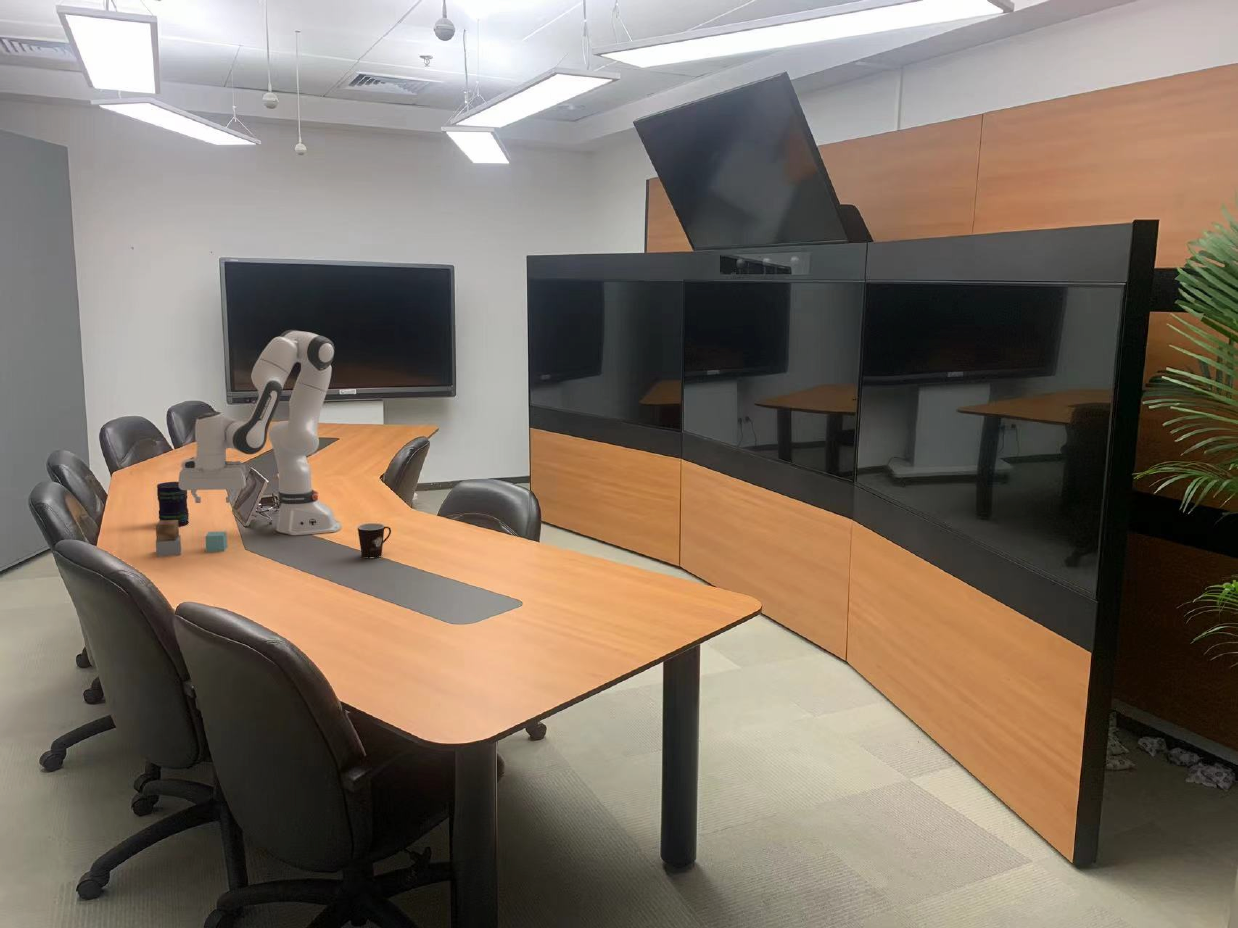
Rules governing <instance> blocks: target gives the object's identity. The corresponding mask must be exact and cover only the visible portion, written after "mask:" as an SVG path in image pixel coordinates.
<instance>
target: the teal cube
mask: <svg viewBox="0 0 1238 928" xmlns="http://www.w3.org/2000/svg"><path fill="white" fill-rule="evenodd" d="M227 535H228V533H227V531H223V530H221V531H208V532H207V533H206V535H205V548H206V549H205V550H206V551H205V552H206V553H215V552H216V553H217V552H219V553H220V551H221V552H225V551H226V549H227V548H228V537H227Z"/></svg>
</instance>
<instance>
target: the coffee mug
mask: <svg viewBox="0 0 1238 928" xmlns="http://www.w3.org/2000/svg"><path fill="white" fill-rule="evenodd" d="M386 529H387V530H388V535H387V536H386V538H384V536H385V535H384V534H385V530H386ZM357 533H358V539H359V547H360V552H361V553H360V554H361V557H362V558H363V557H368V558H370V557H378V558H380V557H379V556H381V555H382V556H383V546H384V543H385V542H386V541H388V539H389V538H390V536H391V534H392V529H391V527H389V526H385V525H384V524H382V523H377V522H376V523H375V522H374V523H372V522H371V523H362V524H359V525H358V526H357ZM382 556H381V557H382ZM368 558H367V559H368Z"/></svg>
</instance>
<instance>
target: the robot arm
mask: <svg viewBox="0 0 1238 928" xmlns="http://www.w3.org/2000/svg"><path fill="white" fill-rule="evenodd" d="M335 352H336V350H335V345H334V343H333V341H331V340H330V339H329V338H327V337H325V336H324V335H319V334H317V333H313V332H309V331H300V330H297V329H288V330H285V331H284V332H282V333H281V334H280V335H279V336H276V337H274V338H273V339H271V341H270V342H268V343H267V345H266V346H265V348H264V349H263V350H262V352H261V354H260V355H259V357H258V359H257V360H256V362H255V364H254V366H253V368H252V370H251V374H250V378H251V381H252V384H253V385H254V387H255V388H256V389H257V391H258V399H257V402H256V404H255V407H254V409H253V411H252V413H251V416H250V417H249V419H248V420H247V421H243V420H238V419H234V418H232V417H229V416H227V415H225V414H223V413H221V412H220V411H215V410H214V411H207V412H204V413H200V415H198V416H197V417H196V419H195V431H194V434H195V436H194V437H195V442H196V452H195V453H196V454H195V455H196V456H191V457H189V458H185V460H183V461H181V464H180V465H181V466H180V467H181V470H180V471H179V474H178V482H179V488H180V489H181V490H187V491H190V494H191V495H192V497H193V498H194V503H195V504H200V503H202V497H201V496H198V494H197V492H198V491H207V490H208V491H213V490H216V491H217V490H228V493H229V496H227V495H226V496H225V503H227V504H228V503H232V501H233V500H232V497H233V494H234V493H235V492H236V490H243V489H244V488H245V487H247V486H246V485H247V482H246V481H247V480H246V475H245V474H246V472H247V470H246V469H247V468H246V464H244V462H241V461H240V460H237V461H227V450H228V449H232V450H237V451H239V452H240V453H242V454H244V455H254V454H255V455H256V454H257V453H259V452H260V451H262V450H263V448H264V447H265V445H266V442H267V439H268V438H269V441H270V444H271V446H272V449H273V453H274V458H275V463H276V465H277V470H278V471H277V472H278V473H277V474H278V488H279V490H278V493H277V502H278V504H277V505H278V507H279V509H278V510H279V511H278V512H279V513H278V519H277V520H278V521H277V525H276V529H275V530H276V531H277V532H279V533H282V534H287V535H290V536H302V535H304V536H305V535H312V534H313V535H315V534H327V533H330V534H331V533H336V532H338V531H339V530H340V529H342V522H341V521H339V520H337V519H336V517H335V514H334V511H333V509H332V508H331V507H329V506H327V504H324V503H323V502H322V501H320V500H319V495H318V494H319V492H318V491H317V490H314V489H312V470H311V466H310V465H309V462H308V459H307V457H308V456H310V455H313V454H314V453H315V452H316V451H317V450H318V449H319V446H320V438H319V433H318V432H319V420H320V415H321V410H322V407H323V404H324V401H325V398H326V396H327V393H328V389H329V386H330V382H331V378H332V369H333V368H332V365H331V364H332V362H333V360H334V358H335ZM297 363H299V364H300V372H299V374H298V376H297V379H296V381H295V384H294V387H293V389H292V393H291V396H290V398H289V401H288V407H289V415H288V416H289V417H288V420H282V421H278V422H275V423H274V424H272V426H271V427H270V424H271V422H272V419H273V417H274V415H275V413H276V410H277V408H278V406H279V403H280V400H281V397H282V395H283V389H284V386H285V383H286V382H287V379H288V377H289V375H290V374H291V371H292V369H293V367H294V365H295V364H297ZM269 427H270V429H269Z"/></svg>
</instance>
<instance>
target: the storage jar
mask: <svg viewBox="0 0 1238 928" xmlns="http://www.w3.org/2000/svg"><path fill="white" fill-rule="evenodd" d="M156 488H157V489H156V491H157V492H156V493H157V494H156V495H157V497H156V498H157V501H158V508H159V509H158V519H159V520H158V522H159V521H162V520H178V527H179V528H182V527H185V526H188V525H189V524H190V521H189V515H190V513H189V508H188V490H181V489H180V488H179V481H168V482H167V481H166V482H161V483H158V484H157V485H156ZM188 523H189V524H188ZM181 526H182V527H181Z"/></svg>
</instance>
